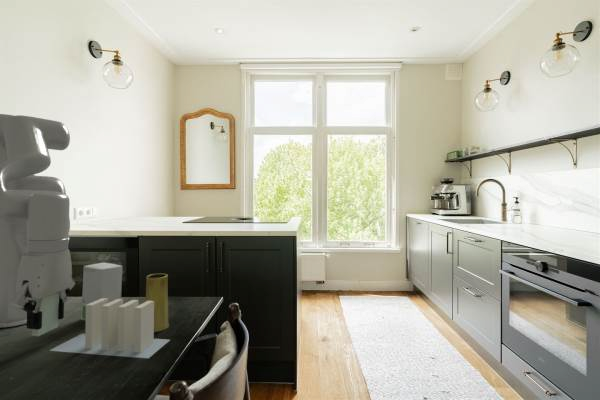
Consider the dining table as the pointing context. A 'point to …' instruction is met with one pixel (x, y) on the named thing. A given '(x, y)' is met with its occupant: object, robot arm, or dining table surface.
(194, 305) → the dining table surface
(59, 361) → the dining table surface
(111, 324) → the tile
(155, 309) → the vase
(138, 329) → the tile
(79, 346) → the runner mat
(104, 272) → the skincare box
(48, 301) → the sage green rectangular block
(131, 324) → the tile
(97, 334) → the tile
